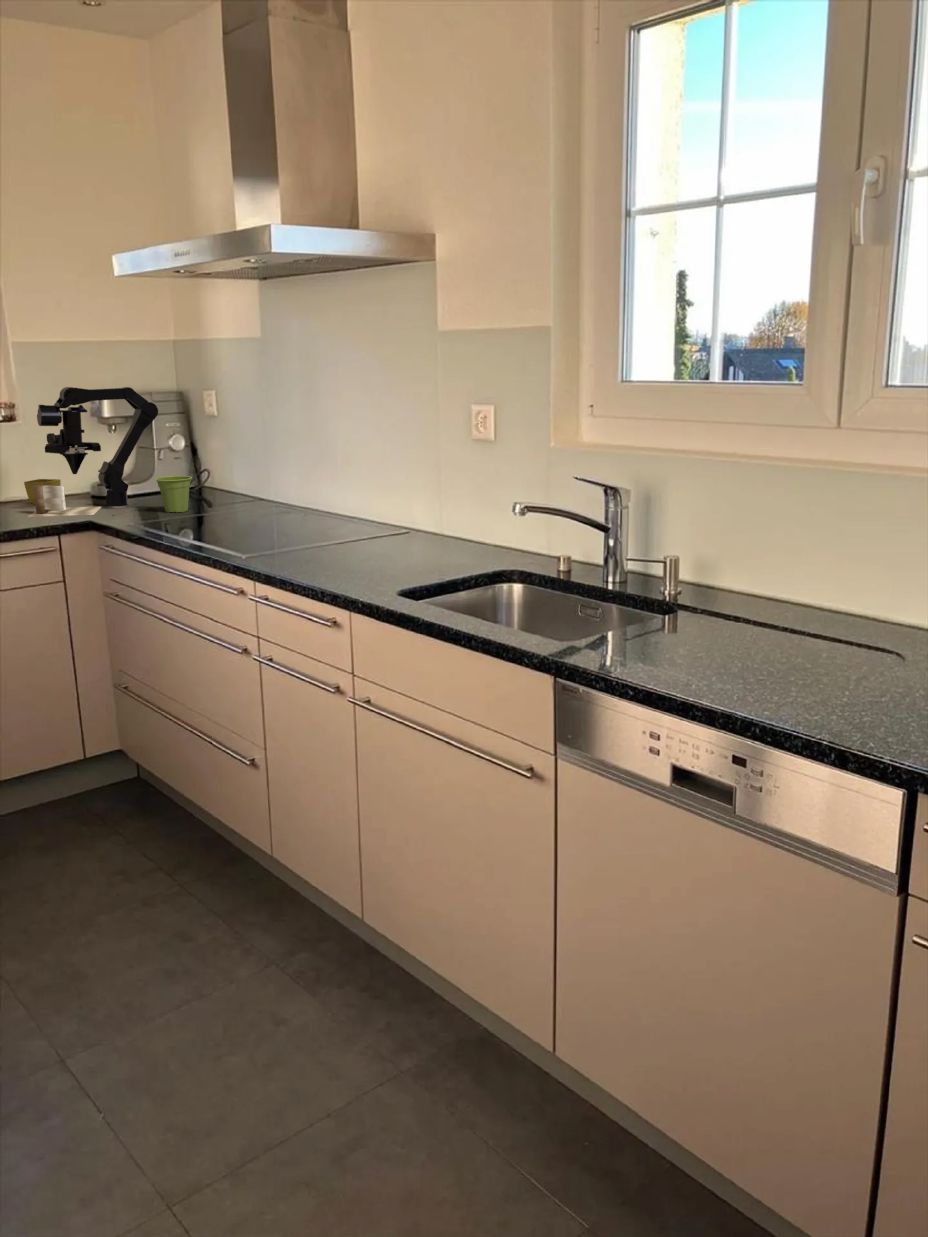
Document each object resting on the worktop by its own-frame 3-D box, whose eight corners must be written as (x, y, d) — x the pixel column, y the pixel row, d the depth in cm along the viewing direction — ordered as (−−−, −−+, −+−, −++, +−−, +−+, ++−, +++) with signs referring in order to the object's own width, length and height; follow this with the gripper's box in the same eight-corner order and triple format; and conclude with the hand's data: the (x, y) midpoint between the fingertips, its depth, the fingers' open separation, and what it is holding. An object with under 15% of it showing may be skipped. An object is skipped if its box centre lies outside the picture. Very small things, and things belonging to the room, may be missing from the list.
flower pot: (25, 507, 351) (22, 481, 349) (43, 503, 359) (40, 478, 357) (47, 508, 348) (44, 482, 346) (64, 504, 356) (61, 479, 354)
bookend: (33, 513, 328) (30, 486, 326) (50, 509, 336) (47, 482, 334) (61, 514, 326) (58, 487, 323) (78, 510, 334) (75, 483, 332)
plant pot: (170, 508, 347) (167, 475, 344) (201, 509, 344) (198, 476, 341) (150, 513, 336) (148, 479, 333) (182, 514, 333) (180, 480, 330)
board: (102, 509, 344) (101, 506, 344) (93, 518, 327) (93, 514, 327) (39, 511, 341) (39, 508, 340) (28, 520, 323) (27, 516, 323)
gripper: (77, 424, 345) (79, 470, 348) (31, 425, 328) (34, 474, 332) (100, 426, 340) (103, 472, 343) (55, 427, 323) (58, 476, 327)
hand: (74, 474), depth 336 cm, fingers closed
